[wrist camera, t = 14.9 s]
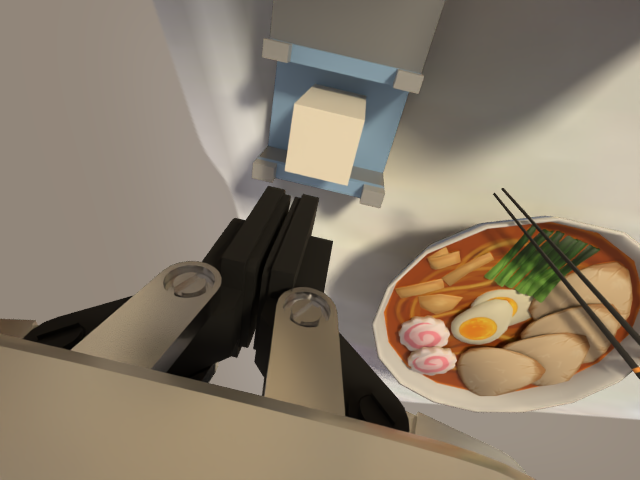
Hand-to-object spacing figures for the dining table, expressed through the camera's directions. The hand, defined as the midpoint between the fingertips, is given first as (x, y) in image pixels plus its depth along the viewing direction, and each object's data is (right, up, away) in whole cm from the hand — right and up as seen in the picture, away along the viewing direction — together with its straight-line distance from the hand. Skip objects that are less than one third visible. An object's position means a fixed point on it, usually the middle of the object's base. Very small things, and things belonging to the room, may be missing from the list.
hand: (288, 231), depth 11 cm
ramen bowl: (+18, -4, +23) cm, 30 cm away
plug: (+2, +9, +15) cm, 18 cm away
